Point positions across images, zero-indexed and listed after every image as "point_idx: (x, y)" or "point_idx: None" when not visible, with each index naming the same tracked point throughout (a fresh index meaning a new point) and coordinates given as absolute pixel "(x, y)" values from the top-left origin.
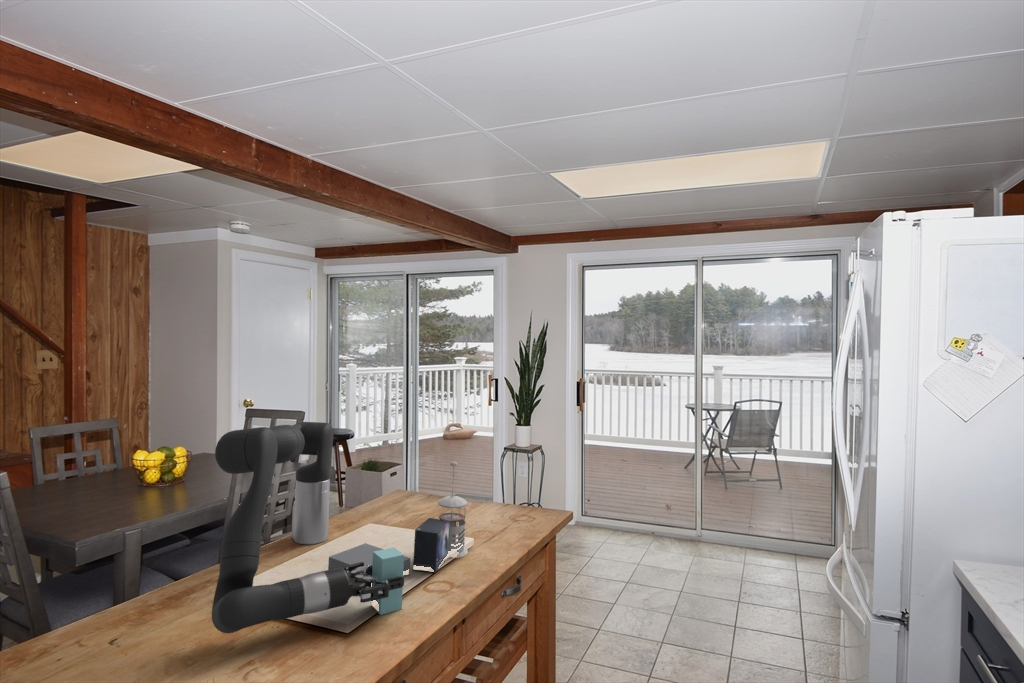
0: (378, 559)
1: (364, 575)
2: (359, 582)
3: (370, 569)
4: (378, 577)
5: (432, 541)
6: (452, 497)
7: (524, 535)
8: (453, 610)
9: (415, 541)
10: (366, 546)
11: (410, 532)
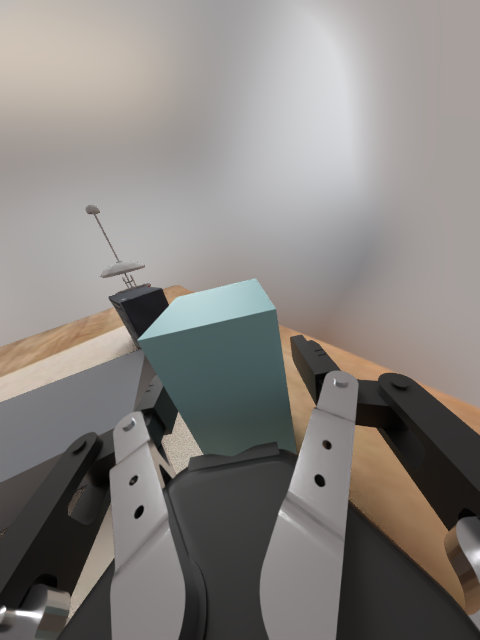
0: (223, 339)
1: (224, 480)
2: (372, 618)
3: (154, 421)
4: (252, 406)
5: (161, 304)
6: (121, 262)
7: (182, 295)
8: (307, 338)
9: (131, 321)
10: (9, 404)
11: (70, 351)
